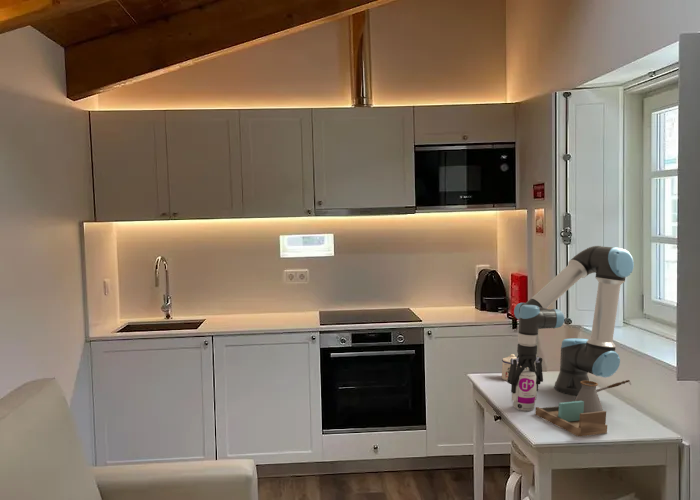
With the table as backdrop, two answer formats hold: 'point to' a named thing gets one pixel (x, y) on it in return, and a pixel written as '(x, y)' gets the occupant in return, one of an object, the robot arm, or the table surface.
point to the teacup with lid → (507, 366)
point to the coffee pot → (593, 395)
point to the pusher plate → (570, 410)
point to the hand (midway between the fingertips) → (524, 400)
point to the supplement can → (526, 391)
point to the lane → (585, 426)
